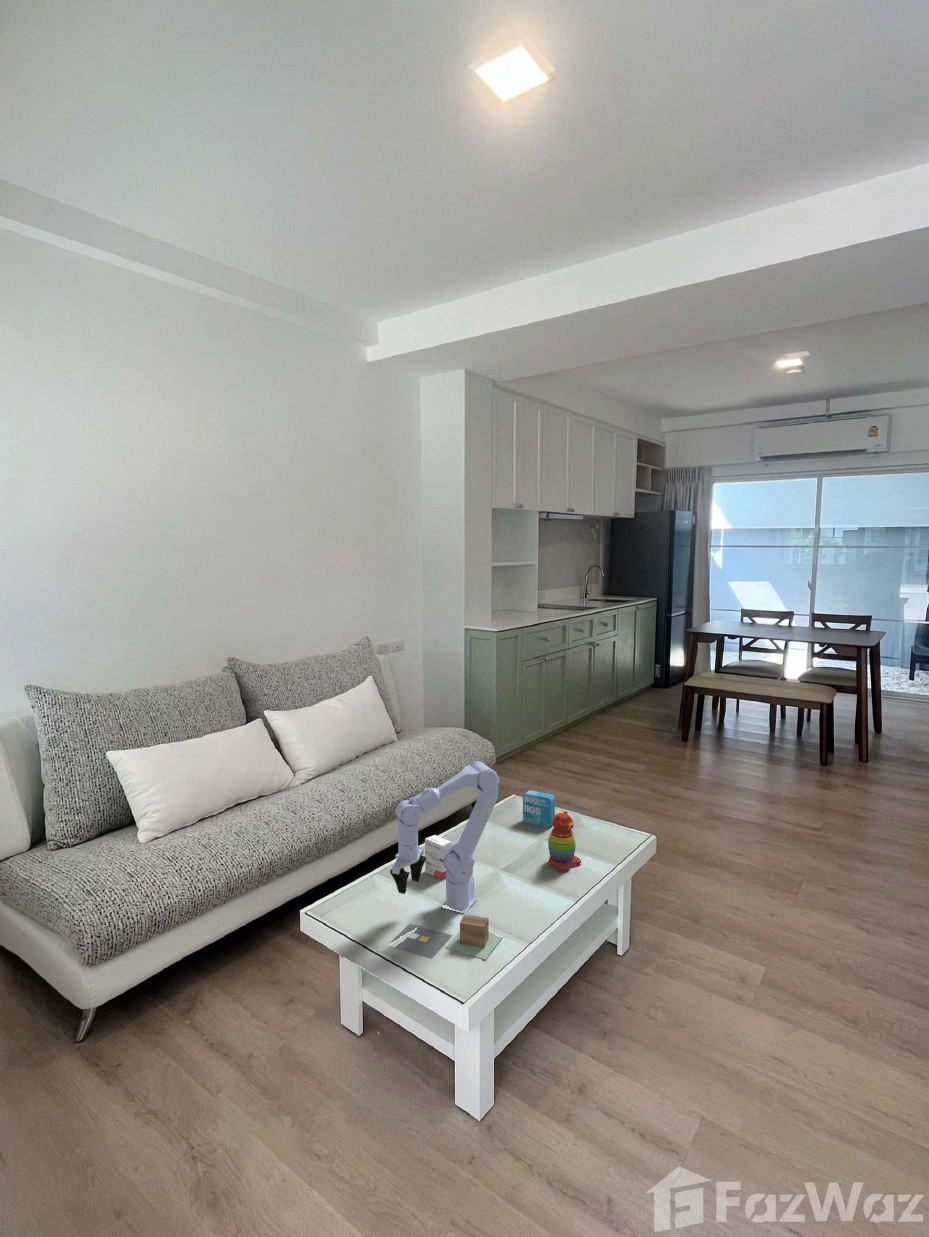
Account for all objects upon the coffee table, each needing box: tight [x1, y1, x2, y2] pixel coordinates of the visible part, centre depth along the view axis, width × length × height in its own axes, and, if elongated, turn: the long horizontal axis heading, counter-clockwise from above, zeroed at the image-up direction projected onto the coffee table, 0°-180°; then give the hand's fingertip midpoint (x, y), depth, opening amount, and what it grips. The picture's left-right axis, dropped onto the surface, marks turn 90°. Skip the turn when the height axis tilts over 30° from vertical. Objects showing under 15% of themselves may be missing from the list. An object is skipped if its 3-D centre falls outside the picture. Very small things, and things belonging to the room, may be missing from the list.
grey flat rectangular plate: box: [389, 922, 453, 960], centre depth 184 cm, size 12×14×1 cm
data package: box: [522, 789, 556, 828], centre depth 261 cm, size 12×4×12 cm, turn 60°
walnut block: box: [459, 913, 490, 948], centre depth 183 cm, size 4×7×6 cm, turn 75°
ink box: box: [424, 834, 453, 881], centre depth 221 cm, size 8×5×12 cm, turn 47°
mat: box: [445, 931, 503, 961], centre depth 183 cm, size 12×12×1 cm
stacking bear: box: [547, 811, 582, 873], centre depth 228 cm, size 11×10×18 cm
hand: (408, 886), depth 195 cm, fingers open, 7 cm apart
